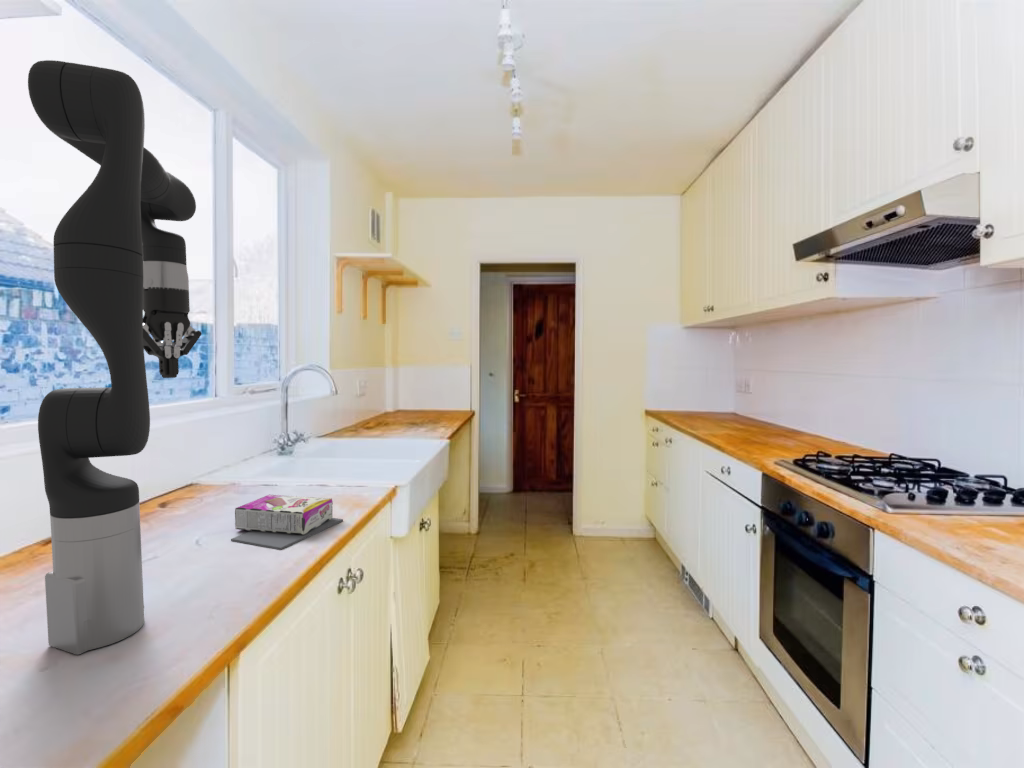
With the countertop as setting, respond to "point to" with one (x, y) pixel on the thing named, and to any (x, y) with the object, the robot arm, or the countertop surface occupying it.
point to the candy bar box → (283, 514)
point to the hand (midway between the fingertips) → (169, 377)
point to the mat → (280, 536)
